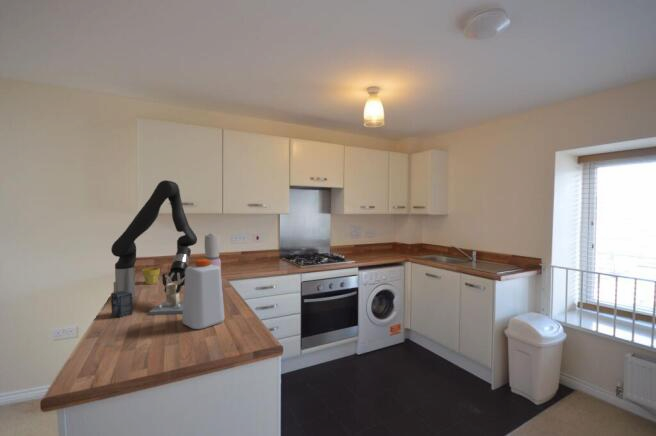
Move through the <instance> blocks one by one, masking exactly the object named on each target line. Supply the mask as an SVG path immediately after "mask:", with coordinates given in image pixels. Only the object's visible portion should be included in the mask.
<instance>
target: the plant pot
mask: <svg viewBox="0 0 656 436" xmlns="http://www.w3.org/2000/svg"><path fill="white" fill-rule="evenodd" d="M160 270H161V269H160V268H159V267H148V268H144V269H142V270H141V272H142V273H141V274H142V275H143V278H144V281H145V284H146V285H155V284H157V283H158V280H159V275H160V273H161V271H160Z"/></svg>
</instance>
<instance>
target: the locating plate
mask: <svg viewBox="0 0 656 436" xmlns="http://www.w3.org/2000/svg"><path fill="white" fill-rule="evenodd" d="M183 301H184V300H179V303H177V304H176V305H167V301H166V300H165V301H162V302H160V304H158V305H157V306H155V307H153V308H152V309H151V310H149V311H148V316H152V315H153V316H157V315H159V316H160V315H177V314H178V315H179V314H182V315H183Z"/></svg>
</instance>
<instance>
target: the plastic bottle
mask: <svg viewBox="0 0 656 436" xmlns="http://www.w3.org/2000/svg"><path fill="white" fill-rule="evenodd" d="M184 278H185V284H184V285H183V287H184V288H183V300H182V301H183V314H182V320H181V322H182V324H183V325H185V326H186V327H189V328H191V329H193V330H202V329H203V330H204V329H206V328H209V327H211V326H215V325H218V324H219V325H220V324H221V323H223V322H224V321H225V306H224V295H223V283H222V268H221V269H220V267H219V266H216V265H211V264H210V260H209V259H206V258H202V259H197V260H195V265H191V266H187V268H186V270H185V277H184Z"/></svg>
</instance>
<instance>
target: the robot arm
mask: <svg viewBox="0 0 656 436" xmlns="http://www.w3.org/2000/svg"><path fill="white" fill-rule="evenodd" d="M180 191H181V190H180V188H179V185H178V183H177V182H175V181H172V180H166V179H165V180H162V181H160V182H159V183H158V184H157V186H156V187H155V189H154V191H153V192H152V193H151V196H150V197H149V199H148V200H147V201H146V202H145V203H144V205H143V206H142V208H141V209H140V210H139V211H138V213H137V214H136V215H135V217H134V218H133V220H132V221H131V222H130V223H129V224H128V227H126V229H125V231H123V232H122V234H121V235H120V236H119V237H118V238H117V239H116V240H115V241H114V242H113V244H112V246H111V253H112V255H113V256H115V257H117V258H118V260H117V262H115V264H114V277H115V279H114V280H115V281H114V282H113V293H115V292H120V291H126V292H130V293H132V299H133V298H135V296H136V282H135V281H136V276H135V272H136V271H135V263H136V262H137V246H136V243H135V241H136V240H137V238H139V237H140V236H142V234H144V233H146V231H147V230H149V228H150V227H151V226H152V225H153V224H154V223H155V221H156V220H157V218H158V216H159V213H160V210H161V208H162V205H163V204H164V202H165V201H166V200H167V199H168V201H169V203H170V206H171V207H170V208H171V217H172V222H173V224H174V227H175V230H176V231H177V232H178V233H182V232H183V233H184V235H181V236H179V237H178V238H177V240H176V250H177V251H176V253H175V256H174V258H173V261H172V265H171V267H170V272H169V273H168V274H165V273H164V274H162V275H161V277H162V284H163V286H164V290H163V291H164V292H165V293H166V285H167V284H169V283H175V282H177V283H178V285H177V289H176V293H179V294H180V292H181V289H182V287H184V284H185V270H186V268H187V267H189V263H190V256H191V253H192V252H191V251H192V249H191V246H194V245H196V244H197V241H198V236H197V234H196V233H195V232H194V231H193V229H192V228H191V226H190V225H189V221H188V219H187V216H186V213H185V211H184V210H185V209H184V207H183V203H182V202H183V201H182V197H181V192H180ZM167 279H168V280H167Z"/></svg>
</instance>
